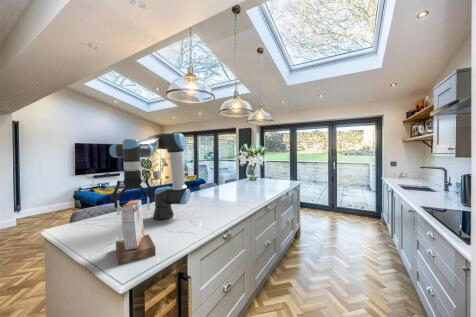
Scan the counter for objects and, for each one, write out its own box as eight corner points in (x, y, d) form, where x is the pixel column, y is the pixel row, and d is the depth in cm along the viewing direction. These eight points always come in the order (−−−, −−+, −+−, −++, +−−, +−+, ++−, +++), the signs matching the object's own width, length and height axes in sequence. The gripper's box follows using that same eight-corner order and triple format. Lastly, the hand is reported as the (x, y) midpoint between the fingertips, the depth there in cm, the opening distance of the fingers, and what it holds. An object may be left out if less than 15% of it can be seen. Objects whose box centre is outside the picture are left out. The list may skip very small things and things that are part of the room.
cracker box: (132, 238, 112) (129, 200, 111) (144, 237, 113) (141, 199, 112) (123, 250, 98) (120, 207, 97) (137, 249, 99) (134, 205, 98)
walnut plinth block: (148, 243, 118) (148, 234, 118) (155, 256, 103) (155, 246, 102) (116, 250, 109) (115, 241, 109) (118, 266, 94) (117, 255, 94)
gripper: (102, 172, 95) (104, 218, 96) (159, 169, 107) (161, 209, 108) (103, 171, 102) (105, 214, 103) (157, 168, 114) (159, 206, 115)
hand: (134, 212), depth 105 cm, fingers open, 13 cm apart
